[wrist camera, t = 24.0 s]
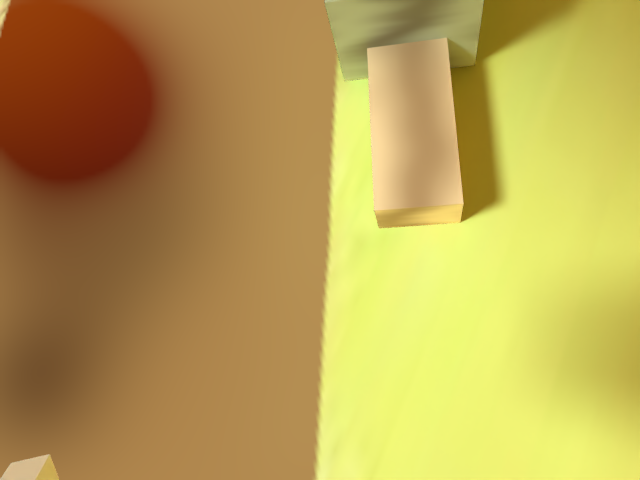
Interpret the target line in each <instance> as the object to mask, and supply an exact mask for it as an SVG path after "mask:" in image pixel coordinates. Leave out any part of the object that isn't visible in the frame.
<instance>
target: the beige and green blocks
mask: <svg viewBox="0 0 640 480" xmlns="http://www.w3.org/2000/svg"><path fill="white" fill-rule="evenodd" d="M324 3H325V7H326V10H327V15H328V19H329V22H330V26H331V30H332V34H333V38H334V42H335V46H336V50H337V54H338V58H339V61H340V65H341V69H342V73H343V77H344V81H351V80H359V79H368V80H369V103H370V126H371V149H372V171H373V194H374V212H375V215H376V219H377V223H378V226H379V228H391V227H405V226H419V225H433V224H447V223H460V221H461V215H462V210H463V204H464V203H463V193H462V183H461V173H460V163H459V153H458V142H457V132H456V122H455V112H454V102H453V92H452V82H451V72H450V68H456V67H465V66H473V65H475V61H476V54H477V47H478V40H479V32H480V25H481V18H482V11H483V4H484V0H325V1H324Z"/></svg>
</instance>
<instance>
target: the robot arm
mask: <svg viewBox="0 0 640 480" xmlns="http://www.w3.org/2000/svg"><path fill="white" fill-rule="evenodd" d="M0 480H60V479H59V477H58V474H57V472H56V470H55V467H54V464H53V462H52V459H51V456H50V455H45V456H40V457H35V458H31V459H26V460H22V461H18V462H13V463H11V464H10V465H9V467H8V468H7V470H6V471H5V473H4V474H3V476H2V477H1V479H0Z"/></svg>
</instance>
